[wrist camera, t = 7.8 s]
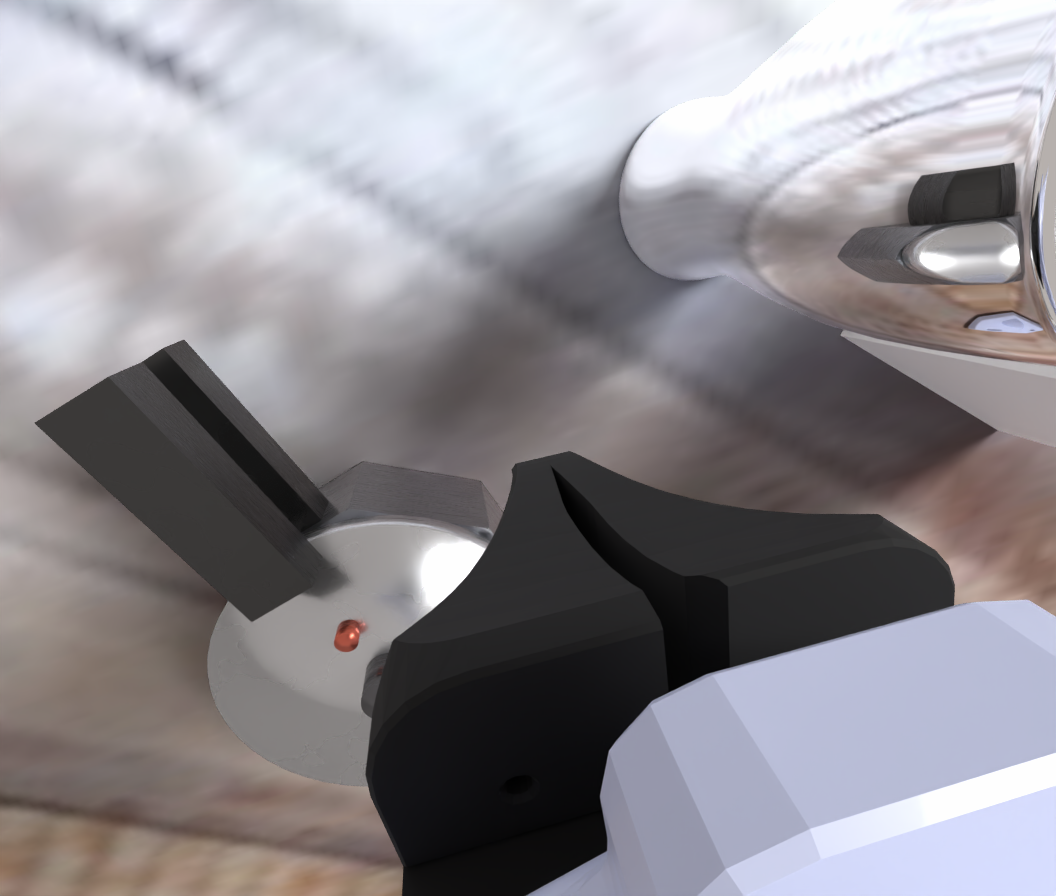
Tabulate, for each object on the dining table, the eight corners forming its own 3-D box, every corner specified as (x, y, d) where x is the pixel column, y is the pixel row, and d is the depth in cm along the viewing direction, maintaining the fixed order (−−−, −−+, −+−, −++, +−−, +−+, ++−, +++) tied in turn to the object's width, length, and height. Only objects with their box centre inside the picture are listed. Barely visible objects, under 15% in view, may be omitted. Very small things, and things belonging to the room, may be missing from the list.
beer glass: (593, 283, 20) (931, 387, 6) (622, 70, 18) (1281, -503, 4) (754, 298, 21) (1317, 408, 8) (802, 101, 19) (1765, -247, 5)
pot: (589, 633, 27) (614, 696, 23) (395, 745, 28) (390, 823, 24) (320, 257, 18) (292, 262, 15) (47, 434, 19) (-45, 482, 15)
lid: (599, 673, 22) (616, 721, 20) (355, 808, 23) (347, 869, 21) (307, 261, 14) (284, 266, 12) (-51, 484, 15) (-132, 527, 13)
